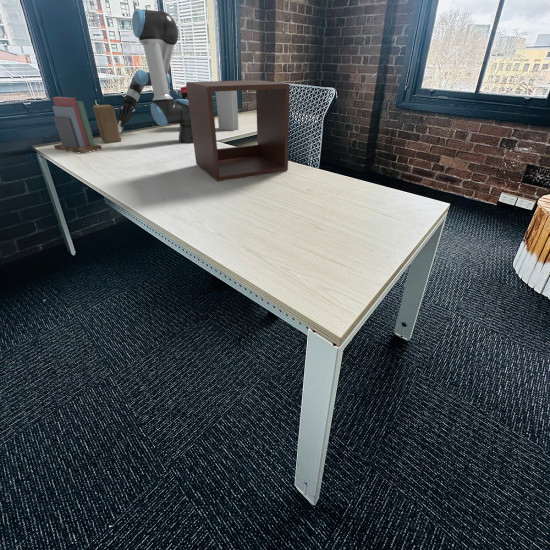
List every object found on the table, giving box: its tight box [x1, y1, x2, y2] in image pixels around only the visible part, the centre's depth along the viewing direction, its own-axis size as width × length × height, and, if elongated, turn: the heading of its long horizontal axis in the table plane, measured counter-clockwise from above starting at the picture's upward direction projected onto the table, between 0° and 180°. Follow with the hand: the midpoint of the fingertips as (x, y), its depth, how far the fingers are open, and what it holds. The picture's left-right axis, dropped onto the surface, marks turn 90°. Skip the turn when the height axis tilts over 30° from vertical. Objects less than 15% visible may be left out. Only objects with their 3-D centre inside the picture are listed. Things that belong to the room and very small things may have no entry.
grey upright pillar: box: [215, 91, 240, 132], centre depth 234 cm, size 14×6×30 cm, turn 58°
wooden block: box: [92, 104, 122, 144], centre depth 202 cm, size 10×10×20 cm
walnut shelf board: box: [53, 143, 102, 154], centre depth 189 cm, size 24×12×2 cm, turn 64°
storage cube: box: [185, 79, 291, 182], centre depth 148 cm, size 35×29×35 cm
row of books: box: [52, 96, 96, 148], centre depth 183 cm, size 15×10×24 cm
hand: (118, 131), depth 212 cm, fingers closed
